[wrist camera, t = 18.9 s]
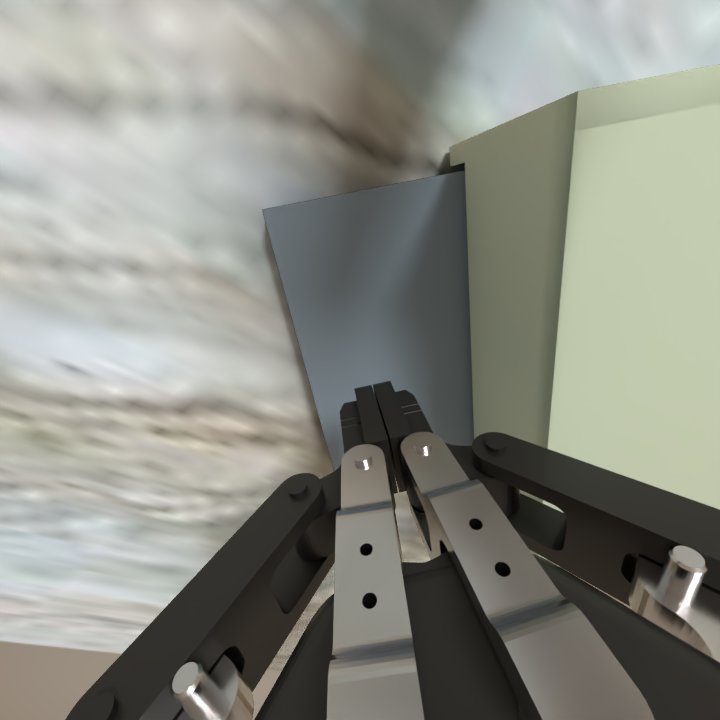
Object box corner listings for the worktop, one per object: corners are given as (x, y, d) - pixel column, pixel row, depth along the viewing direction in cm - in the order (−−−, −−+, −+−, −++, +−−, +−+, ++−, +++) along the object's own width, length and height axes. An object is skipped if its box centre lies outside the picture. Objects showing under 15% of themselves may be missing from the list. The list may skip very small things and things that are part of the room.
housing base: (334, 460, 23) (338, 531, 18) (267, 209, 16) (243, 211, 11) (616, 401, 24) (694, 454, 19) (666, 131, 17) (811, 102, 12)
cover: (464, 448, 24) (537, 571, 16) (449, 147, 16) (578, 91, 8) (588, 422, 24) (722, 531, 16) (634, 111, 16) (941, 22, 8)
